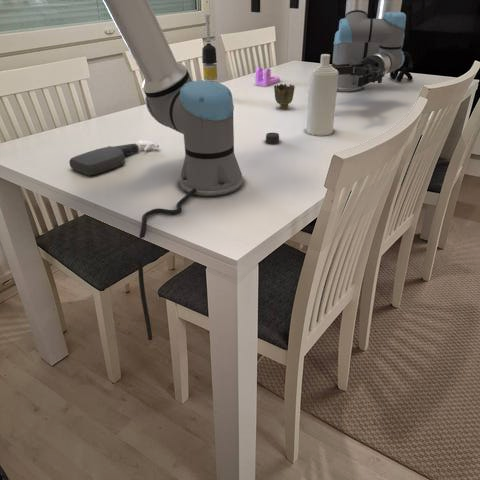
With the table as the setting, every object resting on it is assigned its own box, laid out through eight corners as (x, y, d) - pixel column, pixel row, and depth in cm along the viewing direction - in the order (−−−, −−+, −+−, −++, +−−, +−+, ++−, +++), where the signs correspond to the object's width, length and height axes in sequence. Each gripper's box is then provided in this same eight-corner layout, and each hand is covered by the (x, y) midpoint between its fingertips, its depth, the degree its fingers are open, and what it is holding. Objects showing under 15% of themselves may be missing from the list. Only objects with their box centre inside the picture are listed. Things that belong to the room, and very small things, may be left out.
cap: (281, 140, 136) (281, 133, 134) (275, 145, 133) (275, 137, 132) (269, 139, 137) (269, 131, 136) (263, 143, 134) (263, 135, 133)
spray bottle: (67, 168, 120) (139, 144, 136) (91, 178, 114) (163, 151, 130) (65, 157, 118) (137, 134, 134) (89, 167, 112) (162, 142, 128)
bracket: (265, 86, 195) (266, 69, 191) (255, 84, 197) (255, 68, 194) (281, 80, 203) (282, 64, 200) (271, 79, 206) (271, 63, 203)
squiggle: (400, 92, 202) (376, 71, 205) (417, 76, 202) (392, 56, 205) (405, 81, 191) (380, 59, 194) (423, 64, 191) (397, 42, 194)
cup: (270, 109, 164) (270, 87, 160) (278, 104, 169) (278, 82, 165) (289, 111, 161) (290, 89, 157) (296, 106, 166) (297, 84, 162)
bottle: (311, 136, 138) (317, 58, 126) (302, 128, 145) (306, 53, 133) (337, 134, 140) (344, 56, 128) (326, 126, 147) (333, 51, 135)
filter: (220, 99, 177) (217, 15, 161) (206, 100, 176) (202, 16, 160) (215, 96, 182) (212, 14, 166) (202, 97, 180) (197, 14, 164)
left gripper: (247, -96, 96) (247, 14, 107) (325, -90, 109) (318, 7, 120) (226, -92, 101) (228, 12, 112) (303, -88, 114) (298, 6, 125)
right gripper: (406, 83, 148) (374, 98, 135) (342, 72, 162) (307, 84, 150) (410, 59, 144) (377, 72, 131) (344, 50, 158) (308, 60, 145)
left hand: (275, 10), depth 116 cm, fingers open, 13 cm apart
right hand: (340, 78), depth 140 cm, fingers open, 13 cm apart
